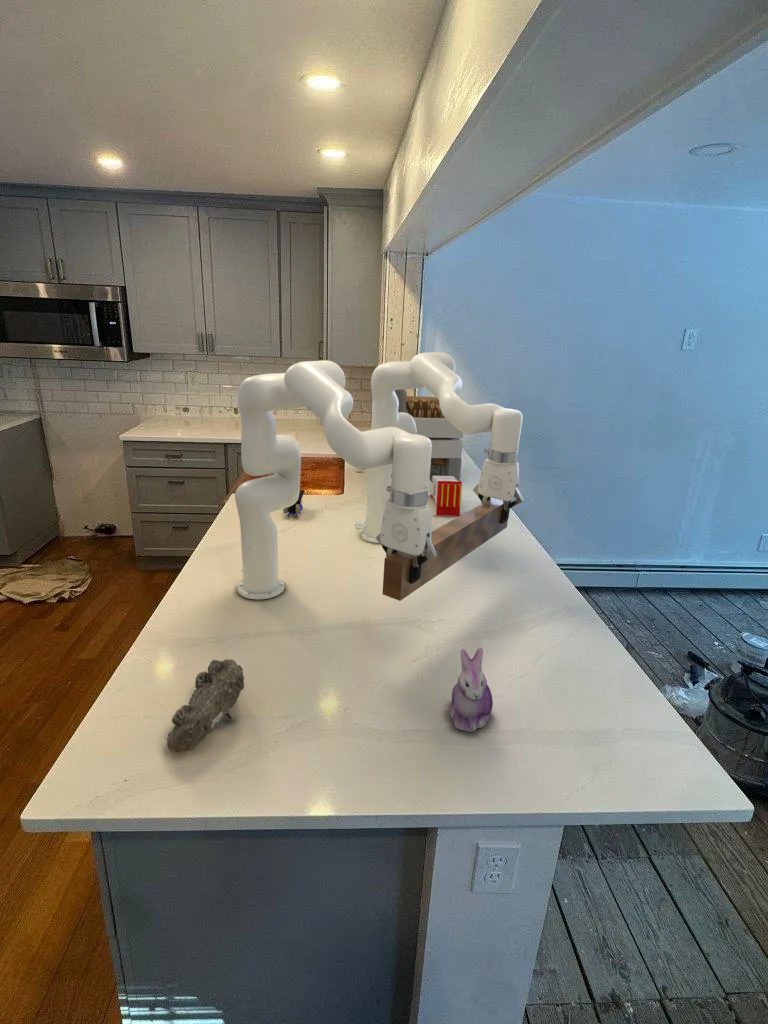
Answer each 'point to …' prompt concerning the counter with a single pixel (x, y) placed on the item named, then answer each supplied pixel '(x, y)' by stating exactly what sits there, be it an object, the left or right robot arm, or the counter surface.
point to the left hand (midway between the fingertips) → (403, 576)
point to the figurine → (471, 694)
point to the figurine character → (295, 506)
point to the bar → (444, 548)
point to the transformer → (435, 431)
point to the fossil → (206, 705)
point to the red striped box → (446, 495)
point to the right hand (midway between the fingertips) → (494, 519)
